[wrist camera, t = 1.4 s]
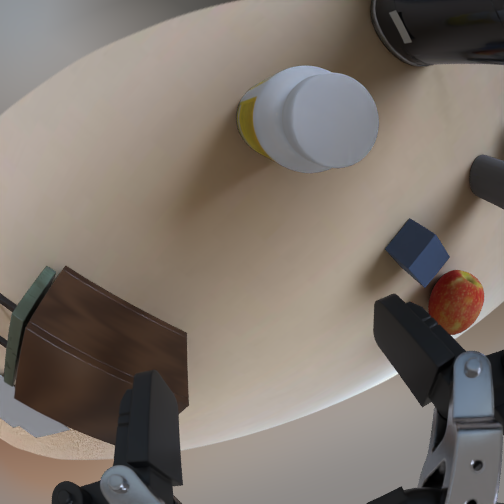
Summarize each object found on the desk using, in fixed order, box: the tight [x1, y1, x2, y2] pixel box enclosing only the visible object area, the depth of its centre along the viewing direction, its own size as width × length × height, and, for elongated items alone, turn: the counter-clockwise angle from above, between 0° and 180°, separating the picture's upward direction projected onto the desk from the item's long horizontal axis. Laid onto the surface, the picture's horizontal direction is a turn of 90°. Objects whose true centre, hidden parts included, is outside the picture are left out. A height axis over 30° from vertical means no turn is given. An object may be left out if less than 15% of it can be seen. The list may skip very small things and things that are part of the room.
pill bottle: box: [236, 66, 379, 173], centre depth 17 cm, size 6×6×12 cm
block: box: [385, 218, 450, 288], centre depth 28 cm, size 5×5×5 cm
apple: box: [428, 270, 484, 335], centre depth 32 cm, size 8×8×8 cm
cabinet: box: [14, 266, 189, 445], centre depth 24 cm, size 15×13×10 cm
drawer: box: [0, 266, 56, 387], centre depth 23 cm, size 18×11×8 cm, turn 51°
